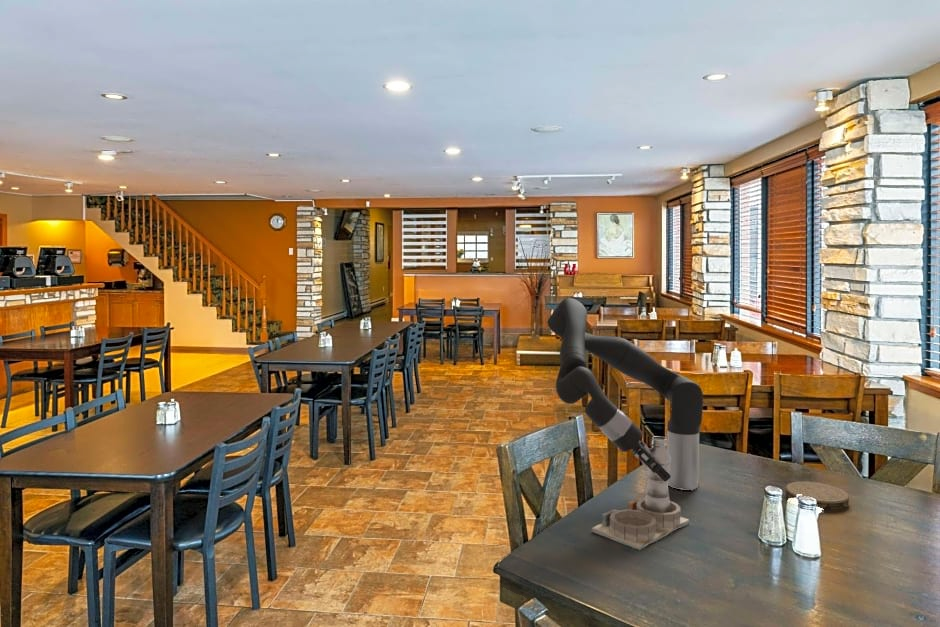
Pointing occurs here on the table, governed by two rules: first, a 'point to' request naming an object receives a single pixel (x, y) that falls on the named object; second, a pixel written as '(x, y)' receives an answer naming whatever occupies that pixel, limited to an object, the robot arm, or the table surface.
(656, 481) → the plastic bottle
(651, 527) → the bottle stand
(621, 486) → the table surface
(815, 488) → the brown round disc
